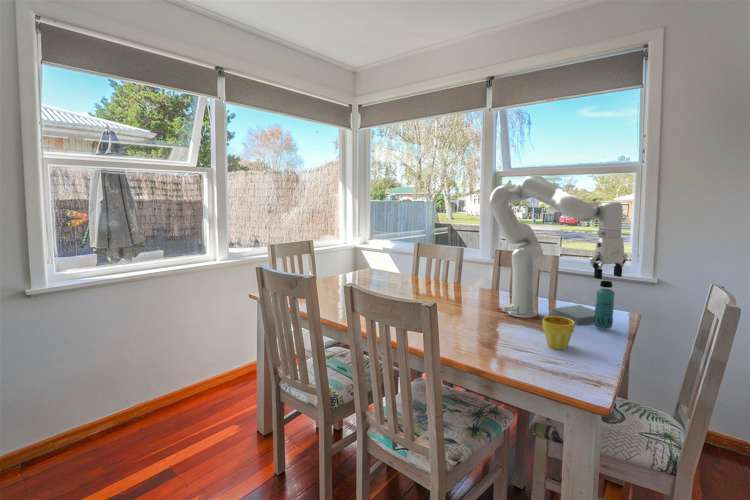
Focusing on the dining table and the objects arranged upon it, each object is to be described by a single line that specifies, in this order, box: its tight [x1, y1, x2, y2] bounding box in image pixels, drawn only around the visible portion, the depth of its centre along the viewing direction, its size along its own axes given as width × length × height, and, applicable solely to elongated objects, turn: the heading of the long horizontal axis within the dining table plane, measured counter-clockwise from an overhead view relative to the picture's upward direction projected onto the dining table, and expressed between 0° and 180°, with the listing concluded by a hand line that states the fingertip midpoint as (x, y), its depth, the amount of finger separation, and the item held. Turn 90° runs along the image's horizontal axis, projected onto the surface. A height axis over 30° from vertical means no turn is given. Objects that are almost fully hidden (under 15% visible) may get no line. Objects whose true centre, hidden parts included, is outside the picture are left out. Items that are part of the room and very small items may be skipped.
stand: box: [551, 304, 595, 326], centre depth 175 cm, size 15×15×3 cm
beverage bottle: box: [593, 280, 615, 330], centre depth 159 cm, size 6×7×20 cm
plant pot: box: [542, 315, 576, 351], centre depth 144 cm, size 10×10×10 cm
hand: (607, 277), depth 156 cm, fingers open, 9 cm apart
